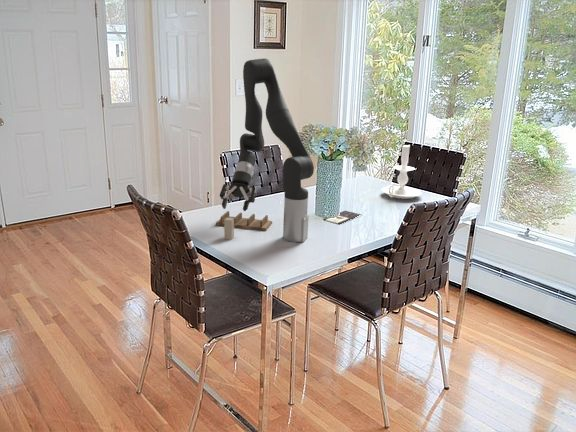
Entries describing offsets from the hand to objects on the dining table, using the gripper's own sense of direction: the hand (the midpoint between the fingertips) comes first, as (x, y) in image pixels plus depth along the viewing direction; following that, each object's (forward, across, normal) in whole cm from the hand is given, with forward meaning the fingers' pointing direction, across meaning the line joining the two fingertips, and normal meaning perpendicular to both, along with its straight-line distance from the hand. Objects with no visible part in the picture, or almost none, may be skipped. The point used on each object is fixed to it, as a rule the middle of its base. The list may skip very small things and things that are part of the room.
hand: (234, 209), depth 211 cm
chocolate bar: (-18, +40, +33) cm, 55 cm away
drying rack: (-1, +1, +16) cm, 16 cm away
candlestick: (-50, +64, +65) cm, 104 cm away
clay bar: (+12, 0, +3) cm, 12 cm away
